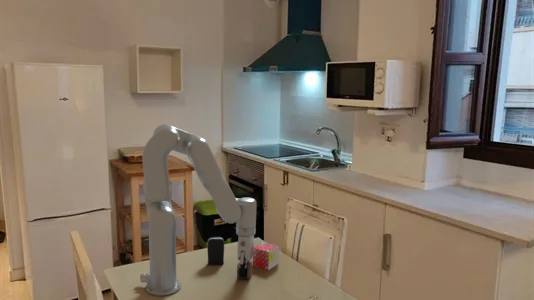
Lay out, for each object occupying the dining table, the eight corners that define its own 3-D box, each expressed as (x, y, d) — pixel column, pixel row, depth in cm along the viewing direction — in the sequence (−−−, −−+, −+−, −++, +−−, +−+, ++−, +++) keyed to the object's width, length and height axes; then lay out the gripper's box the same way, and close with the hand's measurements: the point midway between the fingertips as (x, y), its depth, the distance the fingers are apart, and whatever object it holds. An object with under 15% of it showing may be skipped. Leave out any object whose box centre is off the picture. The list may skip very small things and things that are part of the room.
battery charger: (223, 260, 182) (223, 235, 180) (224, 264, 178) (224, 238, 177) (207, 261, 181) (207, 236, 179) (207, 265, 177) (207, 239, 175)
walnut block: (236, 277, 165) (237, 265, 165) (239, 271, 170) (239, 260, 169) (249, 278, 165) (249, 266, 164) (251, 273, 170) (252, 261, 169)
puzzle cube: (268, 270, 174) (268, 252, 173) (252, 265, 178) (252, 247, 177) (278, 263, 181) (279, 246, 180) (263, 259, 185) (263, 241, 184)
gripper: (251, 238, 156) (249, 284, 158) (259, 223, 172) (257, 266, 175) (231, 236, 157) (230, 282, 160) (241, 222, 174) (239, 264, 176)
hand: (244, 273), depth 167 cm, fingers closed on walnut block, 5 cm apart
